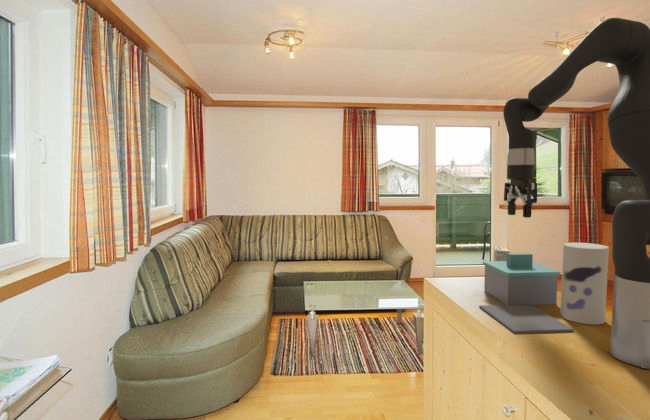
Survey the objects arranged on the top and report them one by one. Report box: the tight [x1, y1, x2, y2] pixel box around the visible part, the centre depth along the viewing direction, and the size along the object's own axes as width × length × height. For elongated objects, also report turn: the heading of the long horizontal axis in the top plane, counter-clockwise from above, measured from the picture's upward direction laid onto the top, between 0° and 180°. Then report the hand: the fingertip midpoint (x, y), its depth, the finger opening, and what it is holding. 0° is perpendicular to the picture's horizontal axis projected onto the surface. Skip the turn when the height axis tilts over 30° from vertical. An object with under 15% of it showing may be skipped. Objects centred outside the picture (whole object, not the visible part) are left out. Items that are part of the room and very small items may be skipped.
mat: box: [478, 304, 575, 334], centre depth 104 cm, size 19×15×1 cm
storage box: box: [483, 265, 559, 306], centre depth 122 cm, size 15×15×9 cm
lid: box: [482, 252, 561, 276], centre depth 122 cm, size 16×16×6 cm
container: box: [560, 242, 610, 326], centre depth 103 cm, size 10×10×20 cm
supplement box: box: [493, 245, 511, 261], centre depth 137 cm, size 8×5×13 cm, turn 160°
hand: (518, 216), depth 120 cm, fingers open, 8 cm apart
